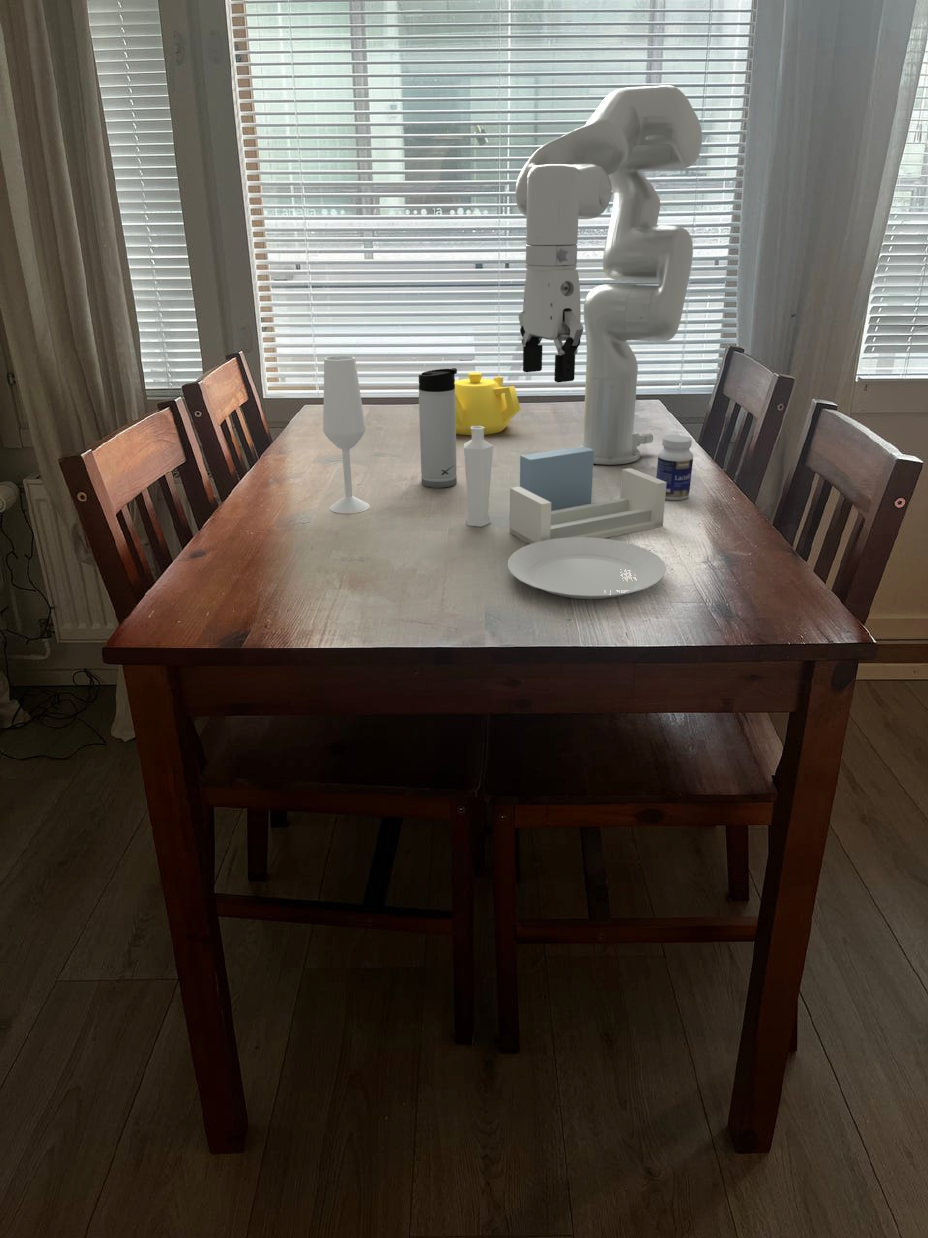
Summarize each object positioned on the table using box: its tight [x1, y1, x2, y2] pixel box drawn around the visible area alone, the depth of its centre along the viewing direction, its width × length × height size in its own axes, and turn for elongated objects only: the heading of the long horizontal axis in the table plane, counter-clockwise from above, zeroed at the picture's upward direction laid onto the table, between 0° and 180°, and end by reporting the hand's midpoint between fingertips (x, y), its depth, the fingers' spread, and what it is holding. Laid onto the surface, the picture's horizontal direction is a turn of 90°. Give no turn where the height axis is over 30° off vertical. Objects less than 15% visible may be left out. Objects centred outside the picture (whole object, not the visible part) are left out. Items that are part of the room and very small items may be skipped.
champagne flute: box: [322, 355, 371, 514], centre depth 145 cm, size 7×7×24 cm
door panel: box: [519, 445, 594, 511], centre depth 148 cm, size 12×3×9 cm, turn 117°
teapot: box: [454, 371, 521, 436], centre depth 197 cm, size 17×17×12 cm
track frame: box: [509, 467, 667, 545], centre depth 138 cm, size 22×9×7 cm, turn 117°
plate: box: [507, 537, 667, 600], centre depth 121 cm, size 21×21×2 cm
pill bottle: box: [655, 434, 694, 501], centre depth 152 cm, size 6×6×10 cm
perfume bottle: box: [463, 426, 494, 528], centre depth 140 cm, size 5×4×15 cm
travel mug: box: [418, 367, 458, 489], centre depth 158 cm, size 6×7×20 cm
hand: (547, 376), depth 141 cm, fingers open, 9 cm apart
